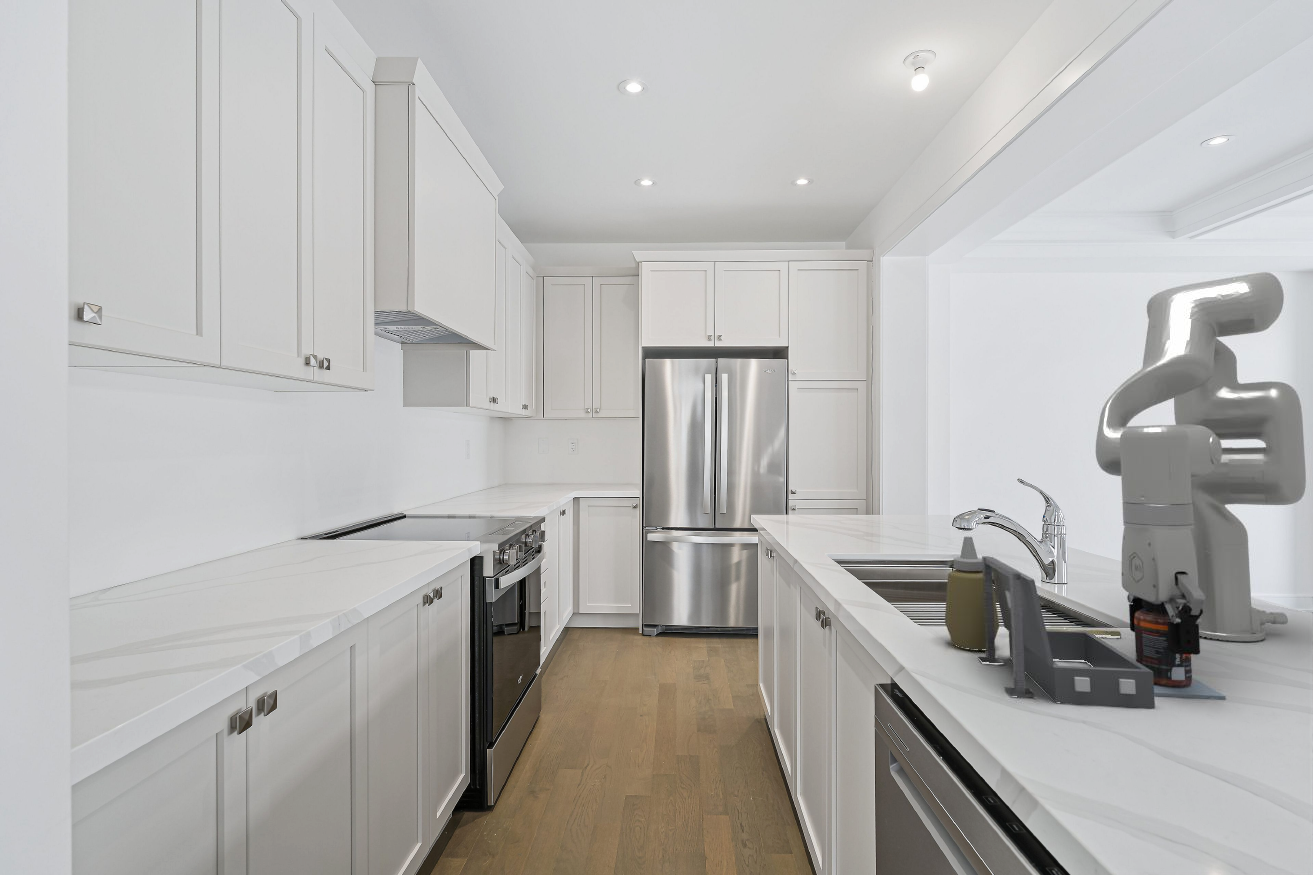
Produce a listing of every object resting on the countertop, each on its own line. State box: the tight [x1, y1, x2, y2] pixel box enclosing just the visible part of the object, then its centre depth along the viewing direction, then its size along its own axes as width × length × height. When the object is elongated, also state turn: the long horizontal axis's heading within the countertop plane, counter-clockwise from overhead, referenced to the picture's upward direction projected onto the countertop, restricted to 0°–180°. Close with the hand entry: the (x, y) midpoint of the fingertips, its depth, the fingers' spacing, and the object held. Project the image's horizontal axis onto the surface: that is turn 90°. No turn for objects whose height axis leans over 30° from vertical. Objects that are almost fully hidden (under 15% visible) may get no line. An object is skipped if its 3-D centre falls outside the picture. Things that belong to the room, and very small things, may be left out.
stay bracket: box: [977, 555, 1036, 698], centre depth 90 cm, size 3×15×16 cm, turn 167°
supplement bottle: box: [1134, 599, 1193, 687], centre depth 86 cm, size 6×6×11 cm
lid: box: [990, 556, 1055, 666], centre depth 90 cm, size 11×18×1 cm
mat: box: [1154, 676, 1227, 700], centre depth 86 cm, size 9×9×1 cm
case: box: [1008, 630, 1156, 709], centre depth 88 cm, size 11×18×4 cm, turn 167°
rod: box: [1046, 628, 1122, 637], centre depth 108 cm, size 12×1×1 cm
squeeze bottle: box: [944, 536, 1000, 651], centre depth 104 cm, size 8×8×18 cm
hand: (1163, 642), depth 86 cm, fingers open, 9 cm apart
